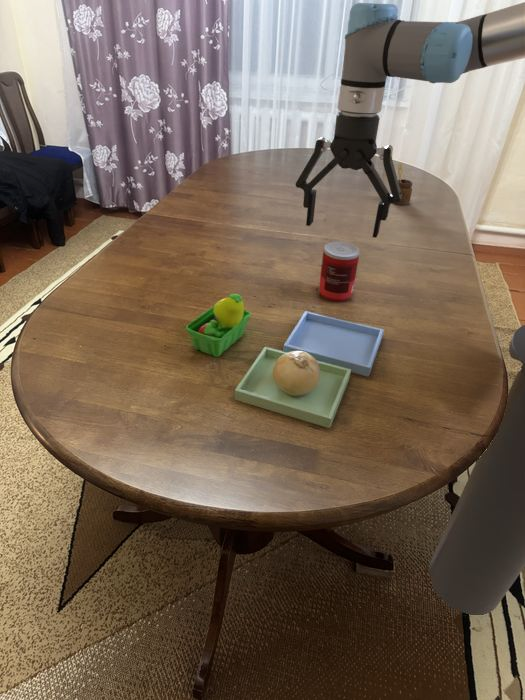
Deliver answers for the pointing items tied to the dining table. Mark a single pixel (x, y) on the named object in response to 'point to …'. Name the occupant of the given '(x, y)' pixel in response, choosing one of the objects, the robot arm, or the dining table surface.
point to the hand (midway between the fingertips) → (341, 229)
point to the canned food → (338, 271)
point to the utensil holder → (404, 188)
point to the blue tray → (336, 342)
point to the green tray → (305, 407)
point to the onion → (296, 373)
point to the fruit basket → (219, 326)
